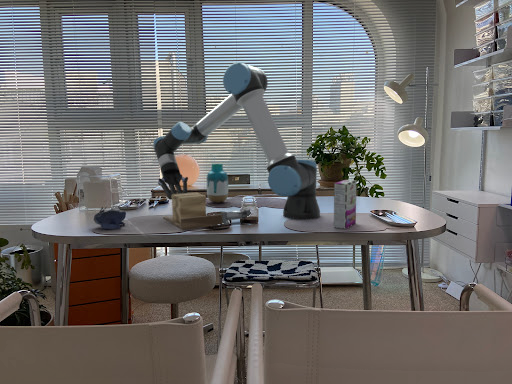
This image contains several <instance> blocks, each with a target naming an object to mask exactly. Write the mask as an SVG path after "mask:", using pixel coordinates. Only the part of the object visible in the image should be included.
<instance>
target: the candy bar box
mask: <svg viewBox="0 0 512 384" xmlns="http://www.w3.org/2000/svg"><path fill="white" fill-rule="evenodd" d="M333 188H334V189H333V228H334V227H336V228H335V229H340V228H344V229H345V230H346V229H349V228H350V227H352V226H354V225H355V224H356V222H357V220H356V218H357V180H354V179H344V180H341V181H338V182H335V183H333ZM351 225H352V226H351ZM348 227H349V228H348ZM344 229H343V230H344Z"/></svg>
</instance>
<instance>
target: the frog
mask: <svg viewBox="0 0 512 384" xmlns="http://www.w3.org/2000/svg"><path fill="white" fill-rule="evenodd" d="M105 209H107V206H106V207H105V208H104V207H103V206H102V207H101V208H100V210H99V212H97V213H95V214H94V217H93V221H94V223H95V224H96V225H99V226H100V228H101V229H105V230H115V229H116V230H120V229H121V228H122V226H123V227H124V226H126V223H125V222H123V221H124V220H125V219H126V216H127V213H126V211H125V210H121V209H116V208H111V209H108V210H105Z"/></svg>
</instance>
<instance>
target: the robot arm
mask: <svg viewBox="0 0 512 384" xmlns="http://www.w3.org/2000/svg"><path fill="white" fill-rule="evenodd" d="M268 83H269V82H268V77H267V75H266V73H265V72H264V70H262V69H261V68H260V67H256V66H252V65H249V64H246V63H245V62H235V63H232V64H230V65H229V66H228V67H227V68H226V69H225V71H224V75H223V77H222V85H223V88H224V89H225V91H226V92H227V93H228V94H229V95H228V96H227V97H226V98H224V100H222V102H220V103H219V104H217V106H215V107H214V108H213V109H212V110H210V112H207V114H206V115H205V116H203V117H202V118H201V119H200V120H199V121H197V122H196V123H195V124H194V125H192V126H189V125H188V124H187V123H184V122H183V121H178V122H177V123H175V125H173V126H172V127H171V129H170V130H169V131H168V132H167V134H165V136H164V135H163V136H158V137H156V138H155V139H154V140H153V150H154V152H155V153H154V154H155V155H156V159H157V162H158V166H159V168H160V173H161V176H162V178H158V181H157V184H158V185H159V186H160V187H161V188H162V190H163V192H164V194H165V195H166V196H167V198H168V200H170V201H172V198H171V195H172V194H181V193H188V180H189V177H188V176H185V177H184V176H183V175H182V174H181V172H180V167H179V165H178V162H177V159H176V155H175V152H176V151H177V150H178V149H179V148H180V147H181V146H182V145H200V144H205V142H206V141H207V140H208V136H209V135H211V134H212V133H213V132H214V131H216V130H217V129H218V128H219V127H221V126H222V125H223V124H224V123H226V122H227V121H228V120H229V119H231V118H232V117H234V116H235V114H238V113H239V112H240V110H242V109H243V110H244V112H245V115H246V116H247V119H248V121H249V124H250V126H251V127H252V130H253V132H254V134H255V136H256V139H257V141H258V143H259V145H260V148H261V149H262V152H263V154H264V156H265V158H266V161H267V165H266V170H267V172H268V176H267V183H268V187H269V188H270V190H271V191H272V192H273V193H275V194H276V195H277V196H279V197H286V198H287V199H286V200H285V203H284V207H283V210H282V211H283V212H282V213H283V214H282V216H283V218H286V219H290V220H314V218H315V219H319V218H320V217H321V210H320V206H319V204H318V200H317V171H318V168H317V163H316V161H315V160H312V159H311V160H310V159H297V158H296V155H295V154H293V153H290V152H289V151H288V148H287V146H286V144H285V141H284V139H283V137H282V135H281V133H280V131H279V128H278V126H277V124H276V122H275V120H274V118H273V115H272V113H271V111H270V110H269V107H268V105H267V103H266V101H265V98H264V94H265V92H266V91H267V88H268ZM181 182H182V183H183V184H182V186H181Z"/></svg>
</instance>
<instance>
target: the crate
mask: <svg viewBox="0 0 512 384" xmlns="http://www.w3.org/2000/svg"><path fill="white" fill-rule="evenodd" d="M171 198H172V199H171V205H172V209H171V210H172V217H173V220H175V221H176V222H178V223H179V224H181V218H190V217H199V216H207V203H206V202H207V201H206V200H207V195H205V194H202V193H199V192H197V191H196V192H187V193H181V194H178V193H177V194H172V195H171Z"/></svg>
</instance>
